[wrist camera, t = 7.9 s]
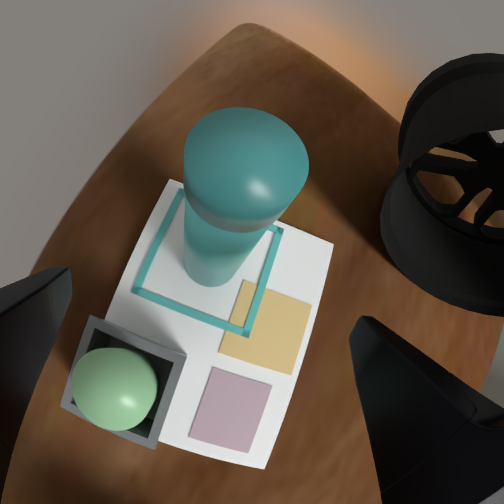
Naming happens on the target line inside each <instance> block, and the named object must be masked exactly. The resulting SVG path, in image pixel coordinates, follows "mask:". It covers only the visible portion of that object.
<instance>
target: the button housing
mask: <svg viewBox="0 0 504 504" xmlns="http://www.w3.org/2000/svg"><path fill="white" fill-rule="evenodd" d="M111 336H113V337H115V338H117V339H119V340H122V341H124V342H126V343H128V344H130V345H133V346H135V347H137V348H140V349H142V350H144V351H147V352H149V353H151V354H154V355H156V356H159V357H161V358H164V359H166V360H169V361H171V362H174V364H173V367H172V370H171V373H170V376H169V378H168V381H167V384H166V387H165V390H164V393H163V396H162V399H161V401H160V404H159V407H158V410H157V413H156V416H155V419H154V420H152V419H150V418H147V417H145V418H144V419H143V420H142V421H141V422H140V423H139V424H138V425H136V426H135V427H132V428H130V429H127V430H121V431H113V430H108V429H105V430H107V431H109V432H111V433H114V434H116V435H118V436H120V437H123V438H125V439H128V440H130V441H132V442H135V443H137V444H140V445H142V446H145V447H148V448H150V449H153V450H155V448H156V445H157V442H158V439H159V436H160V433H161V430H162V427H163V424H164V421H165V418H166V415H167V412H168V410H169V407H170V404H171V401H172V398H173V395H174V392H175V389H176V387H177V384H178V381H179V378H180V375H181V372H182V370H183V367H184V364H185V361H186V358H187V354H185V353H182V352H179V351H177V350H174V349H172V348H169V347H167V346H164V345H162V344H159V343H157V342H154V341H152V340H150V339H147V338H145V337H143V336H140V335H138V334H136V333H133V332H131V331H129V330H127V329H124V328H122V327H120V326H118V325H116V324H114V323H111V322H109V321H107V320H104V319H101V318H98V317H95V316H92V315H90V316H89V319H88V321H87V324H86V327H85V329H84V332H83V335H82V338H81V340H80V343H79V346H78V349H77V352H76V355H75V358H74V361H73V364H72V367H71V371H70V374H69V377H68V380H67V384H66V387H65V391H64V394H63V398H62V401H61V405H60V406H61V407H62V408H64V409H66V410H68V411H69V412H71V413H73V414H75V415H77V416H79V417H81V418H83V419H84V420H86V421H88V422H90V423H92V422H91V421H90V420H88V419H87V418H86V417H85V416H84V415H83V414H82V412H81V411H80V410H79V408H78V406H77V405H76V403H75V400H74V398H73V394H72V389H71V377H72V373H73V370H74V367H75V365H76V364H77V362H78V361H79V360H80V358H81V357H83V356H84V355H85V354H86V353H88V352H90V351H92V350H95V349H100V348H107V346H108V343H109V340H110V338H111ZM92 424H94V423H92ZM94 425H95V424H94ZM96 426H97V425H96ZM101 428H102V427H101ZM103 429H104V428H103Z"/></svg>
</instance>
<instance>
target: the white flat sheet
mask: <svg viewBox="0 0 504 504" xmlns="http://www.w3.org/2000/svg"><path fill="white" fill-rule="evenodd" d="M184 214H185V192H184V187H183V183H180V182H177V181H175V180H172V179H169V181H168V183H167V185H166V187H165V188H164V190H163V192H162V194H161V196H160V198H159V200H158V202H157V204H156V206H155V208H154V210H153V212H152V213H151V215H150V217H149V219H148V221H147V224H146V226H145V228H144V230H143V232H142V234H141V236H140V238H139V240H138V242H137V244H136V246H135V249H134V251H133V253H132V255H131V257H130V260H129V262H128V264H127V266H126V269H125V271H124V273H123V275H122V278H121V280H120V282H119V285H118V287H117V290H116V292H115V294H114V297H113V299H112V302H111V304H110V307H109V309H108V312H107V314H106V317H105V320H107V321H109V322H111V323H114V324H116V325H118V326H120V327H122V328H124V329H127V330H129V331H131V332H133V333H136V334H138V335H140V336H143V337H145V338H147V339H150V340H152V341H154V342H157V343H159V344H162V345H164V346H167V347H169V348H172V349H174V350H177V351H179V352H182V353H185V354H187V358H186V361H185V364H184V367H183V370H182V372H181V375H180V378H179V381H178V384H177V387H176V389H175V392H174V395H173V398H172V401H171V404H170V407H169V410H168V412H167V415H166V418H165V421H164V424H163V427H162V430H161V433H160V436H159V439H158V441H161V442H163V443H166V444H169V445H172V446H175V447H178V448H181V449H184V450H188V451H191V452H194V453H197V454H201V455H204V456H208V457H212V458H215V459H219V460H223V461H227V462H232V463H236V464H240V465H245V466H250V467H255V468H260V469H265V466H266V464H267V461H268V459H269V456H270V454H271V451H272V448H273V446H274V443H275V440H276V438H277V435H278V432H279V430H280V427H281V424H282V421H283V418H284V416H285V413H286V410H287V407H288V404H289V401H290V398H291V395H292V392H293V389H294V386H295V383H296V380H297V377H298V374H299V371H300V368H301V364H302V361H303V358H304V355H305V351H306V348H307V345H308V341H309V338H310V334H311V331H312V328H313V324H314V320H315V317H316V313H317V310H318V306H319V302H320V298H321V295H322V291H323V287H324V283H325V279H326V275H327V271H328V267H329V263H330V259H331V254H332V250H333V246H334V244H332V243H329V242H327V241H325V240H322V239H320V238H318V237H315V236H313V235H311V234H308V233H306V232H303V231H301V230H299V229H296V228H294V227H292V226H289V225H287V224H284V223H282V222H279V221H277V220H276V221H275V222H274V223H273V224H271V225H270V227H269V228H268V229H267V231H266V232H265V234H264V235H263V236H262V238H261V239H260V240H259V242H258V243H257V244H256V246H255V247H254V249H253V250H252V251H251V253H250V254H249V255H248V257H247V258H246V259H245V261H244V262H243V264H242V265H241V266H240V268H239V269H238V270H237V272H236V273H235V274H234V276H233V277H232V278H231V279H230V280H229V281H228V282H227V283H225V284H223V285H221V286H218V287H205V286H202V285H199V284H197V283H196V282H194V281H193V280H192V279H191V278H190V277H189V276H188V274H187V272H186V270H185V267H184ZM107 348H133V349H136V350H139V351H141V352H143V353H144V354H146V355H147V356H148V357H149V358H150V359H151V360H152V361H153V363H154V364H155V366H156V367H157V370H158V372H159V376H160V390H159V393H158V396H157V397H156V399H155V401H154V403H153V405H152V406H151V408H150V410H149V412H148V413H147V415H146V417H147V418H150V419H152V420H154V419H155V416H156V413H157V410H158V407H159V404H160V401H161V399H162V396H163V393H164V390H165V387H166V384H167V381H168V378H169V376H170V373H171V370H172V367H173V364H174V362H171V361H169V360H166V359H164V358H161V357H159V356H156V355H154V354H151V353H149V352H147V351H144V350H142V349H140V348H137V347H135V346H133V345H130V344H128V343H126V342H124V341H122V340H119V339H117V338H115V337H113V336H111V338H110V340H109V343H108V346H107Z"/></svg>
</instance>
